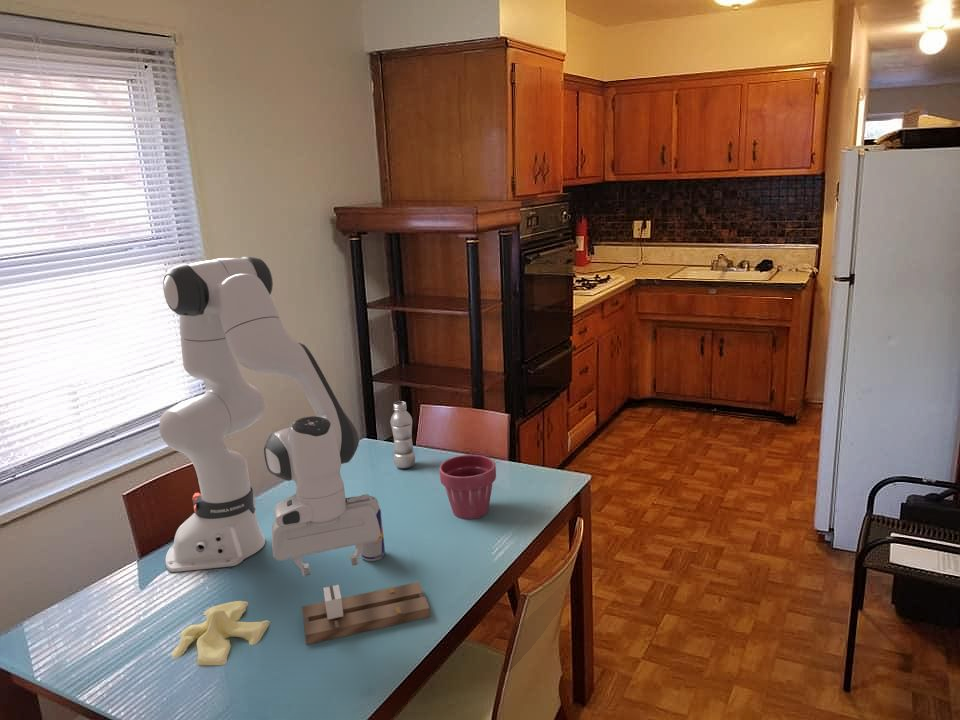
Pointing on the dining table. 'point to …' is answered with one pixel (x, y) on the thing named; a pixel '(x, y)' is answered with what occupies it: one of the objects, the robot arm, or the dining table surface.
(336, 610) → the fader knob
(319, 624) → the fader console
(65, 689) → the dining table surface
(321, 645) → the dining table surface
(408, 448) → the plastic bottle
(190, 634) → the cloth
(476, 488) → the plant pot
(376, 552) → the energy drink
